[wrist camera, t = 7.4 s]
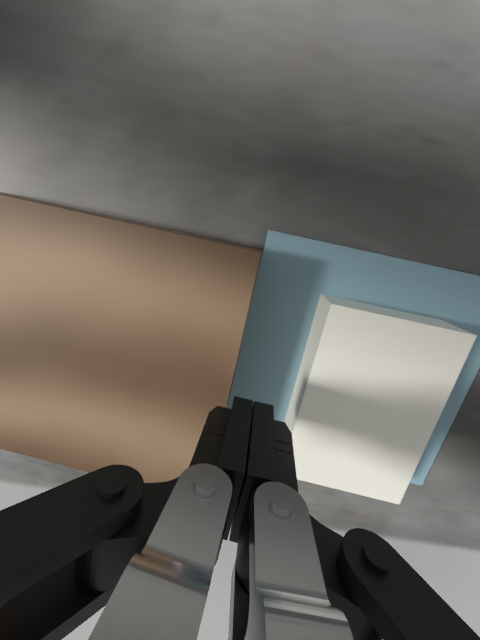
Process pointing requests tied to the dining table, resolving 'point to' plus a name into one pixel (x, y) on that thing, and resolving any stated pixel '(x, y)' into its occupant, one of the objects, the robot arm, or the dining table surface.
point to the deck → (115, 336)
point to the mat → (353, 284)
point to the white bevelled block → (371, 395)
